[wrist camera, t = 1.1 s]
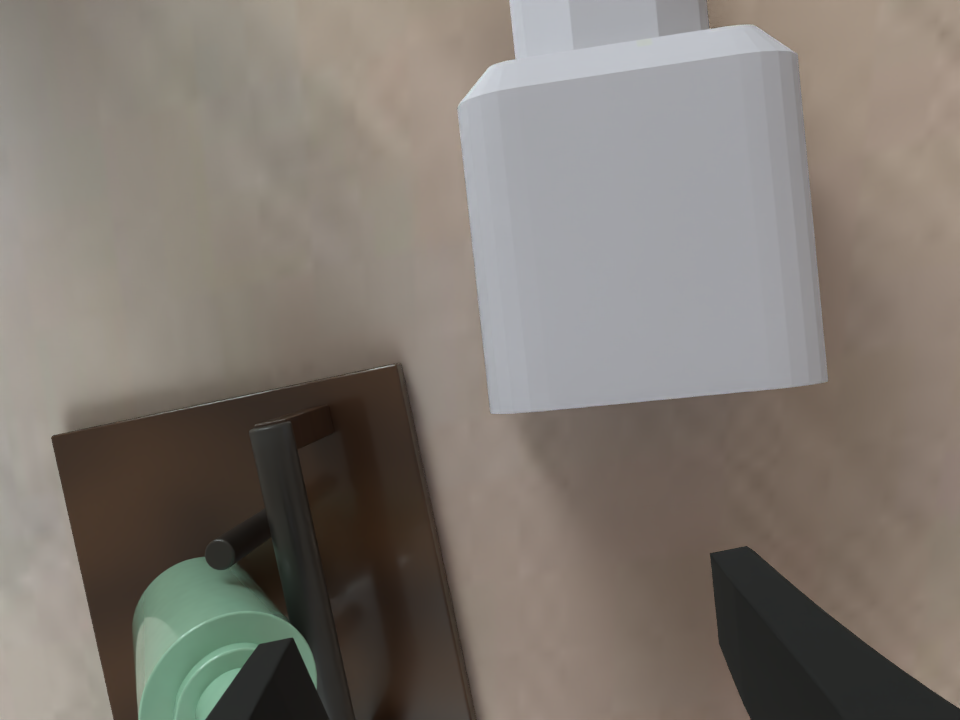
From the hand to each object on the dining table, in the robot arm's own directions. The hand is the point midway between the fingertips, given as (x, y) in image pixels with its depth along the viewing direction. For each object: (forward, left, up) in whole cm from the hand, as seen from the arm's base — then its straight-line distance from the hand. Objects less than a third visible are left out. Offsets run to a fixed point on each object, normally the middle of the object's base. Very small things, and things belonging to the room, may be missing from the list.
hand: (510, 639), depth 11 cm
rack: (-2, +10, -12) cm, 15 cm away
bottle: (-2, +10, -11) cm, 15 cm away
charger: (+10, -5, -12) cm, 16 cm away
